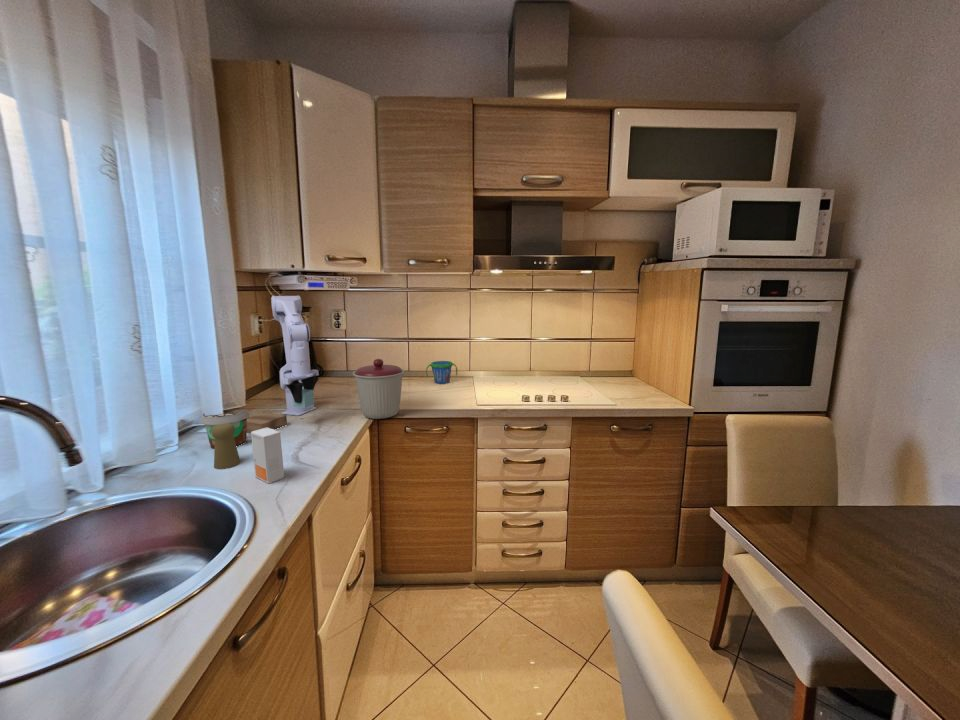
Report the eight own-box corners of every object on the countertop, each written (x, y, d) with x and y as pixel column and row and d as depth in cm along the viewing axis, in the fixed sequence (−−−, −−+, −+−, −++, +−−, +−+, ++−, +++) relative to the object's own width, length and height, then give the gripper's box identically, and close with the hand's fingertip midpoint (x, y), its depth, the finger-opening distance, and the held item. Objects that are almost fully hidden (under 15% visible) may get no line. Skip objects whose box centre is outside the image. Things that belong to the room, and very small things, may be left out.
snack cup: (425, 385, 192) (424, 364, 191) (427, 380, 203) (427, 360, 201) (457, 385, 193) (457, 364, 191) (458, 380, 203) (457, 360, 201)
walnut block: (264, 423, 139) (263, 412, 138) (287, 426, 136) (286, 415, 135) (239, 432, 129) (238, 421, 129) (262, 436, 126) (261, 424, 126)
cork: (211, 464, 105) (206, 424, 103) (237, 457, 109) (232, 419, 107) (216, 471, 101) (211, 430, 99) (243, 464, 105) (239, 424, 103)
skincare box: (254, 478, 97) (249, 431, 95) (271, 471, 101) (267, 426, 99) (268, 484, 94) (263, 436, 92) (285, 477, 98) (281, 431, 95)
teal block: (303, 402, 137) (302, 388, 136) (314, 403, 135) (313, 389, 134) (293, 406, 132) (292, 392, 131) (305, 407, 131) (303, 393, 130)
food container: (197, 453, 112) (192, 419, 110) (205, 445, 118) (201, 413, 116) (245, 448, 115) (242, 415, 114) (251, 441, 121) (248, 409, 120)
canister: (347, 422, 138) (343, 363, 135) (365, 407, 156) (362, 354, 152) (398, 423, 137) (395, 363, 133) (410, 408, 155) (409, 355, 151)
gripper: (294, 365, 123) (298, 407, 126) (324, 357, 137) (327, 395, 139) (276, 364, 125) (279, 405, 127) (307, 356, 139) (310, 394, 141)
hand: (303, 400), depth 133 cm, fingers closed on teal block, 4 cm apart
